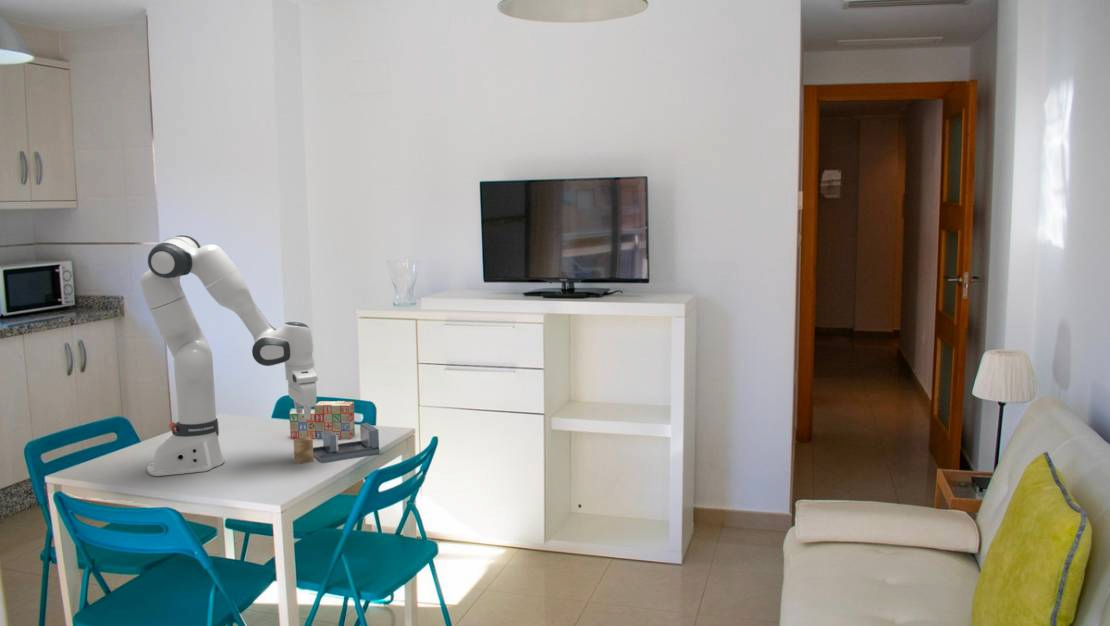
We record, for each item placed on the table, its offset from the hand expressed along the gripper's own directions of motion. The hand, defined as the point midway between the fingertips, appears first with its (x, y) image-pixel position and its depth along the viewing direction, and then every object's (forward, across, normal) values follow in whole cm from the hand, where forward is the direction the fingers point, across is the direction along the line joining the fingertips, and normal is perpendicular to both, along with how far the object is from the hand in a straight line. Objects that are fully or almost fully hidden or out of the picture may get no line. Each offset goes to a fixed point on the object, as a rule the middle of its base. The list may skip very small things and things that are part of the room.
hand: (303, 416), depth 288 cm
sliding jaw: (+13, 0, +8) cm, 15 cm away
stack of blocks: (+15, -26, +13) cm, 33 cm away
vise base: (+15, 0, +13) cm, 19 cm away
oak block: (+14, 0, -1) cm, 15 cm away
